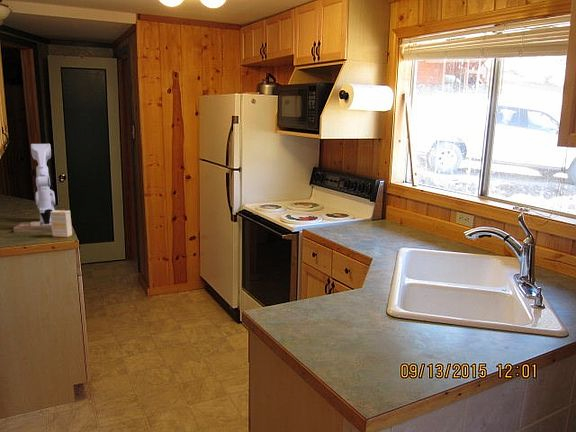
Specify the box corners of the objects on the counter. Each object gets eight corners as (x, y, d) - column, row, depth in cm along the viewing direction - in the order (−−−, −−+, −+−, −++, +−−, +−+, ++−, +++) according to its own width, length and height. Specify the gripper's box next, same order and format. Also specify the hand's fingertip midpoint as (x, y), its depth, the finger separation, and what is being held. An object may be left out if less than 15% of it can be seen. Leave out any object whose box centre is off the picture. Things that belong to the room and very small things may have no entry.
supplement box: (72, 235, 251) (70, 210, 248) (67, 237, 246) (65, 212, 243) (57, 234, 251) (55, 209, 249) (52, 237, 247) (50, 211, 244)
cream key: (32, 225, 263) (32, 221, 263) (41, 225, 264) (41, 221, 264) (30, 227, 259) (30, 223, 259) (39, 226, 260) (38, 222, 260)
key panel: (21, 226, 266) (21, 222, 266) (57, 225, 270) (56, 221, 270) (13, 232, 254) (13, 227, 253) (51, 231, 258) (50, 226, 257)
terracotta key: (22, 227, 262) (21, 223, 262) (30, 227, 263) (30, 223, 263) (19, 229, 258) (19, 225, 258) (28, 229, 259) (27, 225, 259)
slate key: (44, 226, 265) (43, 223, 264) (52, 226, 265) (52, 222, 265) (41, 228, 261) (41, 224, 260) (50, 228, 261) (50, 224, 261)
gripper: (40, 196, 266) (42, 220, 269) (32, 201, 252) (34, 226, 255) (54, 196, 267) (56, 220, 270) (47, 200, 253) (49, 226, 256)
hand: (46, 223), depth 263 cm, fingers closed
